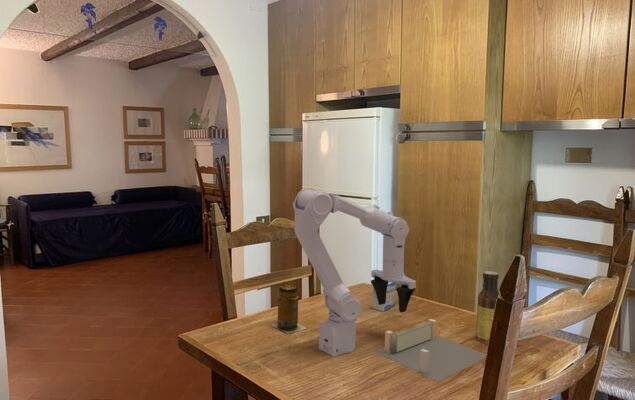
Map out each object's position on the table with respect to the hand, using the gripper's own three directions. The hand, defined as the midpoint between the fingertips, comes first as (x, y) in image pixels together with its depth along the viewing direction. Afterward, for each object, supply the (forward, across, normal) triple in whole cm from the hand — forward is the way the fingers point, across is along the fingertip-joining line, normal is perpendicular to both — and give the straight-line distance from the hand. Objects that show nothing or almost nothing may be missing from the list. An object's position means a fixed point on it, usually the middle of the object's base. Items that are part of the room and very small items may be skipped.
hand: (392, 307), depth 128 cm
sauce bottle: (+10, -17, -21) cm, 29 cm away
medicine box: (+10, +20, -19) cm, 29 cm away
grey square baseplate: (+10, -13, -1) cm, 16 cm away
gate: (+8, -7, 0) cm, 11 cm away
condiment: (+9, +25, +17) cm, 32 cm away
